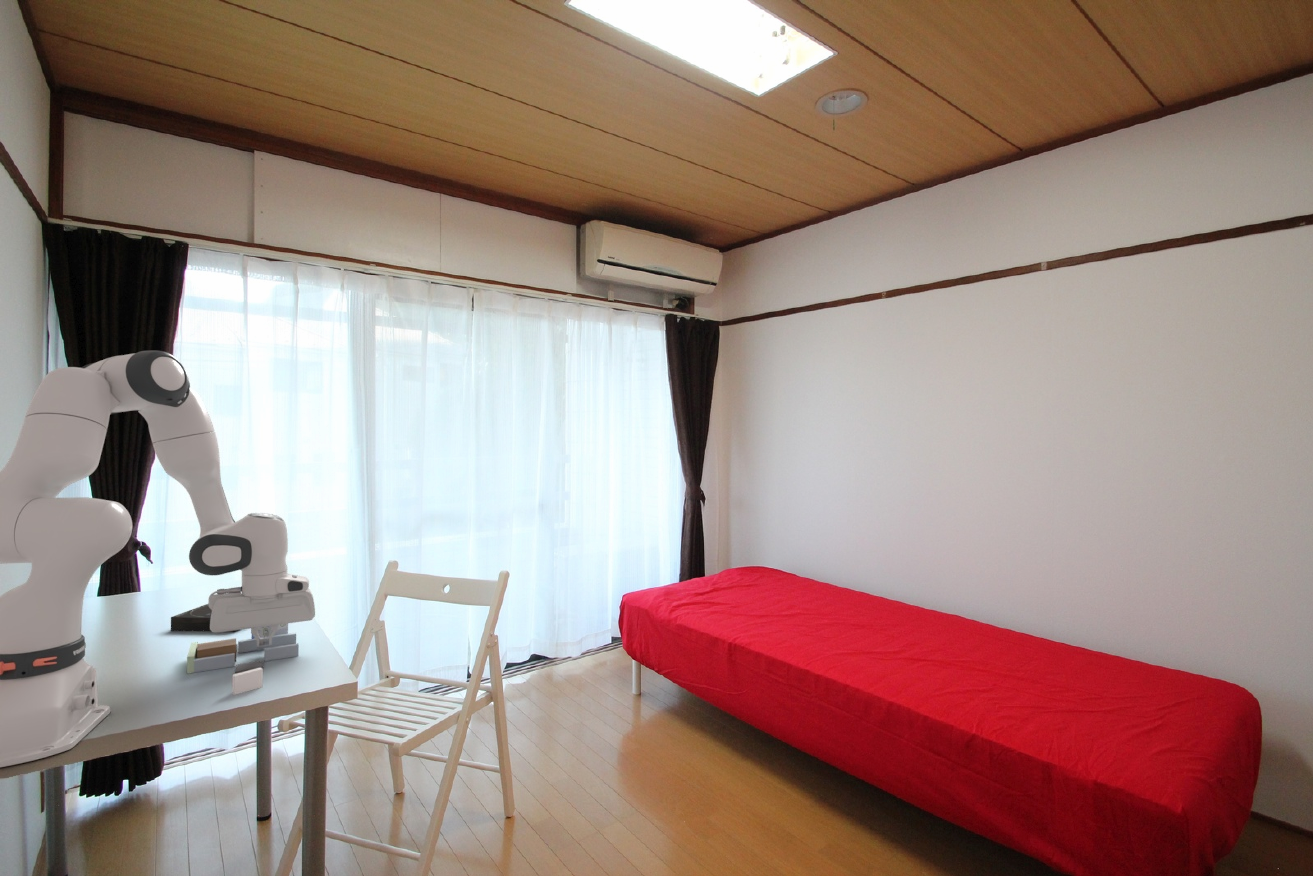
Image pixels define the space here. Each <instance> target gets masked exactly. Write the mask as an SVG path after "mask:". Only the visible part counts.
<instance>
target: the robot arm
mask: <svg viewBox="0 0 1313 876" xmlns="http://www.w3.org/2000/svg"><path fill="white" fill-rule="evenodd" d="M130 411H138V413H139V414H140V415H141V416H142V417H143V418H144V420H145V421H146V423H147V425H148V432H149V435H150V439H151V443H152V446H153V450H154V452H155V454H156V455H155V456H156V457H157V459H158V461H159V463H160V466H161V467H162V468H163V471H164V472H165V473H166V474H167V475H169V476H170V477H171V478H172V479H174V480H176V481H177V482H178V483H179V484H180V485H181V486H182V487H184V489H185V490H186V492H187V493H188V495H189V497H190V499H191V503H192V506H193V509H194V512H195V515H196V517H197V520H198V523H199V528H200V534H199V538H197V539H196V540H195V542H194V543H193V544H192V545H191V547H190V549H189V553H188V559H189V563H190V565H191V566H192V568H193V569H194V570H195V571H196V572H198V573H200V574H202V575H206V576H221V575H225V574H230V573H232V572H236V571H241V586H238V587H237V586H236V587H230V588H218V589H217V590H216V591H213V592H212V593H211V594H210V595H209V597H208V602H207V604H208V605H209V608H210V609H211V610H212V614H211V620H210V630H211V631H212V632H211V633H214V634H217V633H227V632H226V631H234V630H239V631H241V630H247V629H250V634H251V636H252V635H253V636H254V638H255V639H256V640H257V647H260V646H268V645H272V637H273V636H274V634H275V633H276V631H277V628H278V625H280V624H287V623H288V624H294V623H302V622H309V621H312V620H313V619H315V617H316V607H315V605H316V604H315V601H314V596H313V593H312V591H311V589H310V580H309V579H308V577H306V576H302V575H298V574H292V573H288V566H287V561H286V560H287V555H288V551H289V550H288V549H289V545H288V544H289V542H288V541H289V540H288V539H289V538H288V529H287V524H286V522H285V520H284V519H283V518H282V517H280V516H278V515H277V514H276V515H275V514H273V513H265V512H251V513H248V514H246V515H245V516H244V517H243V518H240V519H238V520H237V521H235V520H234V518H233V515H232V512H231V510H230V509H231V508H230V507H229V503H228V501H227V497H226V494H225V490H224V487H223V484H222V477H221V463H220V462H221V460H220V449H219V444H218V438H217V435H216V432H215V428H214V425H213V422H212V419H211V417H210V414H209V411H208V410H207V408H206V406H205V403H204V402H203V400H202V398H201V396H200V395H199V394H198V392H197V391H195V390H193V389H192V388H191V383H190V380H189V376H188V373H187V371H186V369H185V367H184V365H183V364H182V363H181V362H180V360H179V359H178V358H176V357H175V356H174V355H172V354H171V353H169V352H166V351H162V350H141V351H138V352H136V353H129V354H124V355H123V354H121V355H115V356H111V357H107V358H105V359H104V358H103V360H99V361H97V362H92V363H88V364H85V365H84V366H82V367H77V366H65V367H64V366H63V367H58V368H56V369H52V370H51V371H50V372H48V373H47V374H46V375H44V378H43V379H42V381H41V382H40V384H39V385H38V387H37V389H36V391H35V392H34V395H33V397H32V399H31V401H30V403H29V405H28V408H27V409H26V414H25V416H24V419H23V424H22V426H21V429H20V432H19V435H18V439H17V441H16V443H15V446H14V448H13V451H12V454H11V456H10V458H9V459H8V461H7V463H6V464H5V466H4V467H3V468H1V469H2V470H1V471H0V565H2V564H4V565H6V564H27V563H28V564H31V570H30V574H29V576H28V579H27V580H26V581H25V583H22V584H19V585H17V586H15V587H13V588H12V589H10V590H8V591H6V592H5V593H3V594H2V595H0V768H4V767H9V766H15V765H19V764H23V763H28V762H32V761H36V760H39V759H43V758H48V757H50V756H53V755H58V754H60V753H64V752H65V751H69V750H71V749H73V748H74V747H75V746H76V745H77V744H78V743H80V741H82V740H83V739H84V737H86V736H87V735H88V734H89V733H90V732H91V731H93V729H95V727H97V726H98V724H100V723H101V722H102V721H103V720H104V719H105V718H106V717H107V716H108V715H109V714H110V713H111V709H110V708H111V707H110V706H109V705H99V701H98V681H97V680H98V679H97V678H98V677H97V668H96V667H94V666H93V665H91V664H89V663H88V662H87V661H86V660H85V659H84V657H85V655H86V647H87V644H86V640H85V636H84V635H83V634H82V629H83V628H82V627H83V625H82V624H83V609H84V608H83V607H84V599H85V598H84V597H85V593H86V590H87V588H88V586H89V582H90V580H91V579H92V577H93V576H94V574H95V573H96V571H97V570H98V569H99V568H100V567H101V565H102V564H103V563H105V562H106V561H107V560H108V559H111V557H113V556H115V555H116V554H117V553H119V552H120V551H121V550H122V549H124V547H125V546H126V545H127V543H128V542H129V540H130V538H131V536H132V531H133V520H132V517H131V515H130V512H129V510H128V509H126V507H125V506H124V505H123V504H122V503H120V502H117V501H113V500H106V499H103V498H95V497H88V496H86V497H84V496H83V497H81V496H80V497H77V496H75V497H73V496H72V497H57V496H58V495H59V494H60V493H61V492H62V491H63V490H65V489H66V488H67V487H69V486H71V485H72V484H74V483H76V482H79V481H81V480H82V481H83V479H86V478H88V477H89V476H90V475H92V474H93V473H94V472H95V471H96V470H97V468H98V466H99V463H100V460H101V455H102V452H103V448H104V444H105V439H106V437H107V432H108V427H109V422H110V415H115V414H118V413H122V412H123V413H125V412H130ZM264 626H270V630H272V631H271V632H270V634H269V636H265V637H260V636H259V635H258V633H257V632H258V627H264Z"/></svg>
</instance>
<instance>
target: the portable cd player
mask: <svg viewBox="0 0 1313 876" xmlns="http://www.w3.org/2000/svg"><path fill="white" fill-rule="evenodd" d="M211 614H212V610H211V609H210V608H209V605H208V603H205V604H203V605H201V606H198V607H195V608H193V609H189V610H187V611H184V612H182V613H178V614H176V615H174V616H171V617H170V632H196V633H197V632H199V633H200V632H203V633H204V632H205V633H207V632H208V633H209V632H211V633H213V632H212V631H211V630H210V620H211ZM239 631H240V630H234V631H226V632H225V633H236V632H239Z"/></svg>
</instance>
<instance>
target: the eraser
mask: <svg viewBox="0 0 1313 876" xmlns="http://www.w3.org/2000/svg"><path fill="white" fill-rule="evenodd" d="M263 671H264V668H263V669H262V668H256V669H253V670H249V671H245V672H241V673H234V674H232V690H231V691H232V694H233V695H238V694H243V693H246V692H248V691H251V690H252V691H253V690H256V689H259V688H263V682H264V681H263V680H264V673H263Z"/></svg>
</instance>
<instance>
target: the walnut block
mask: <svg viewBox="0 0 1313 876" xmlns="http://www.w3.org/2000/svg"><path fill="white" fill-rule="evenodd" d="M236 644H237V638H236V637H235V638H229V639H222V640H215V641H209V642H202V643H198V646H197V659H198V658H205V657H211V656H218V655H225V654H231V653H235V663H236V662H237V652H236Z"/></svg>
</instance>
